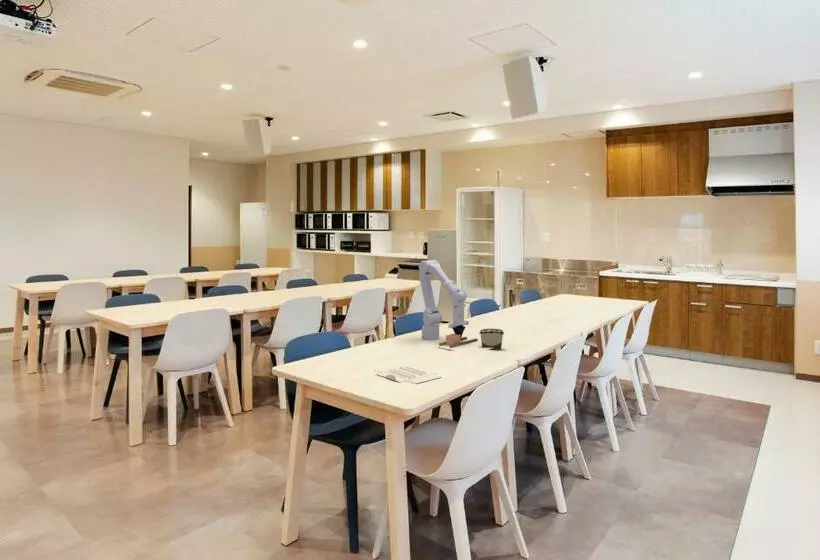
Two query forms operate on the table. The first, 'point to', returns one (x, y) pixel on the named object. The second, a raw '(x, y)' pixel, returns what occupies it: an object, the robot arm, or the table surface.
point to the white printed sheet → (407, 374)
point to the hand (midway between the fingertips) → (458, 340)
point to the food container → (491, 338)
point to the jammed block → (453, 339)
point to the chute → (458, 343)
